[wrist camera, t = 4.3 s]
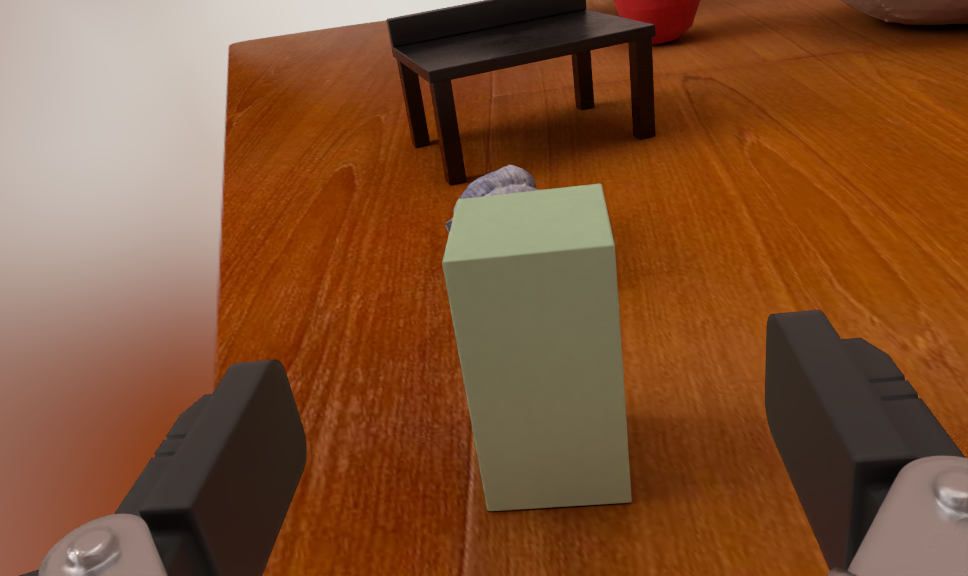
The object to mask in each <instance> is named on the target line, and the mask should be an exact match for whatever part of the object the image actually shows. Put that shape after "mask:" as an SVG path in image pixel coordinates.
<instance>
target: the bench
mask: <svg viewBox="0 0 968 576" xmlns="http://www.w3.org/2000/svg"><path fill="white" fill-rule="evenodd" d="M387 25H388V31H389V36H390V41H391V46H392V52H393V56H394V57H395V58H396V59H397V63H398V68H399V73H400V79H401V84H402V89H403V95H404V100H405V106H406V111H407V116H408V122H409V127H410V132H411V138H412V143H413V145H414V146H415V147H416V148H417V147H421V146H425V145H430V140H429V135H428V129H427V123H426V118H425V112H424V106H423V101H422V95H421V89H420V84H419V78H418V75H420V76H421V77H422V78H424V79H425V80H426V81H428V82H429V84H430V90H431V96H432V102H433V108H434V114H435V120H436V125H437V131H438V137H439V143H440V149H441V155H442V161H443V167H444V172H445V178H446V181H447V182H448V183H449V184H450V185H453V184H458V183H462V182H466V174H465V168H464V162H463V155H462V149H461V142H460V136H459V130H458V123H457V117H456V111H455V104H454V98H453V92H452V85H451V80H452V79H456V78H461V77H466V76H471V75H475V74H480V73H485V72H490V71H494V70H499V69H504V68H509V67H513V66H518V65H523V64H528V63H532V62H537V61H542V60H547V59H551V58H556V57H561V56H566V55H570V54H572V65H573V77H574V89H575V100H576V107H577V108H579V109H581V110H584V109H588V108H592V107H594V95H593V81H592V68H591V54H590V50H594V49H599V48H604V47H608V46H613V45H618V44H623V43H627V42H629V61H630V81H631V101H632V120H633V136H635V137H637V138H639V139H645V138H649V137H653V136H655V114H654V87H653V60H652V37H655V36H656V31H655V25H654V24H649V23H645V22H641V21H636V20H632V19H627V18H623V17H618V16H614V15H609V14H605V13H600V12H596V11H591V10H587V9H586V0H484V1H479V2H474V3H469V4H463V5H458V6H453V7H448V8H442V9H437V10H432V11H427V12H421V13H416V14H411V15H405V16H400V17H395V18H390V19H387Z"/></svg>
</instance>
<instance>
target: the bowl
mask: <svg viewBox="0 0 968 576" xmlns="http://www.w3.org/2000/svg"><path fill="white" fill-rule="evenodd" d="M842 1H843V2H845V3H846V4H847V5H849V6H851V7H853V8H854V9H856V10H859V11H860V12H862V13H865V14H867V15H869V16H871V17H875V18H878V19H881V20H883V21H886V22H887V23H888V22H893V23H901V24H909V25H946V24H968V0H842Z"/></svg>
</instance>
